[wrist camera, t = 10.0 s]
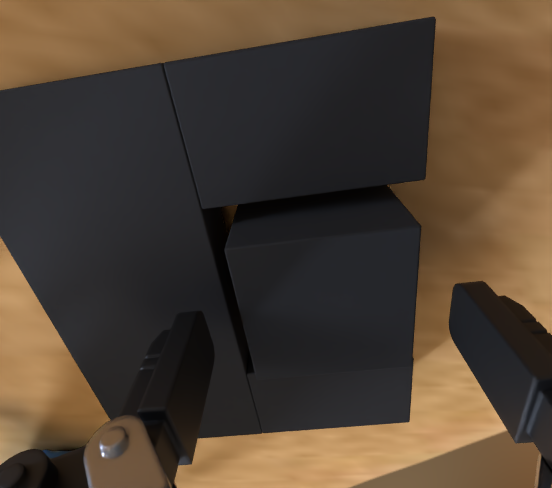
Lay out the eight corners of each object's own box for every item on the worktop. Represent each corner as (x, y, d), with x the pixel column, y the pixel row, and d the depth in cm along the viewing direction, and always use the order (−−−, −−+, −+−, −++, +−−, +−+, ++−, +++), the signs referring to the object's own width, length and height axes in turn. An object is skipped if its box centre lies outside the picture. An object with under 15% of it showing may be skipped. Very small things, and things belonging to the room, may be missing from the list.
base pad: (-12, 96, 12) (-80, 104, 9) (404, 25, 10) (437, 15, 8) (142, 400, 19) (124, 444, 17) (394, 378, 18) (410, 423, 16)
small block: (238, 199, 13) (223, 248, 10) (383, 180, 13) (422, 225, 9) (261, 310, 16) (256, 381, 12) (382, 297, 15) (412, 367, 12)
